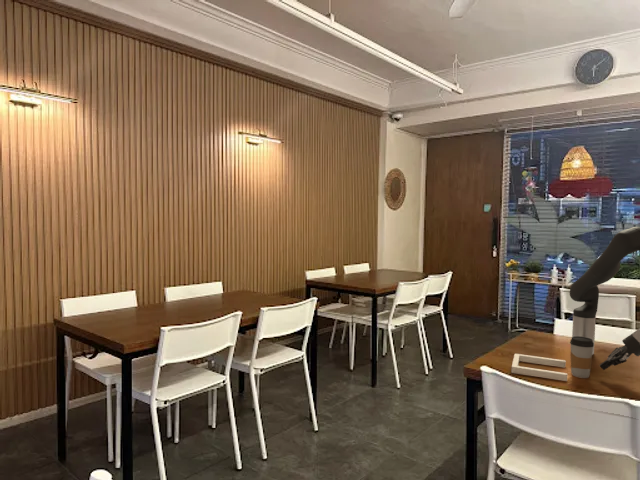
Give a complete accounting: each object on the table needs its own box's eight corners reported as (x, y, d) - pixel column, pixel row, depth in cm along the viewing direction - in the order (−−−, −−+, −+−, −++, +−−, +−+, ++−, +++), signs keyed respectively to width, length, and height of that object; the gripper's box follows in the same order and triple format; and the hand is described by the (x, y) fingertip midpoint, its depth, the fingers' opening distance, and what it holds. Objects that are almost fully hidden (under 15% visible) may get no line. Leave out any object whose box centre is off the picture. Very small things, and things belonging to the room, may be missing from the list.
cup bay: (514, 359, 205) (514, 353, 205) (565, 366, 196) (565, 360, 196) (511, 372, 187) (511, 366, 187) (567, 381, 178) (567, 374, 178)
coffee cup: (595, 380, 180) (597, 342, 179) (572, 378, 182) (574, 340, 181) (587, 372, 188) (589, 336, 188) (565, 371, 190) (567, 335, 189)
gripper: (629, 329, 183) (592, 355, 189) (635, 337, 171) (595, 364, 177) (645, 344, 181) (606, 370, 187) (651, 353, 169) (610, 380, 175)
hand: (601, 367), depth 182 cm, fingers closed
